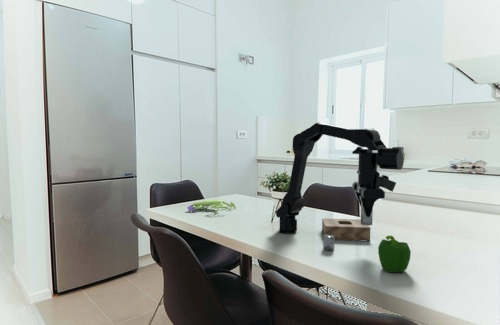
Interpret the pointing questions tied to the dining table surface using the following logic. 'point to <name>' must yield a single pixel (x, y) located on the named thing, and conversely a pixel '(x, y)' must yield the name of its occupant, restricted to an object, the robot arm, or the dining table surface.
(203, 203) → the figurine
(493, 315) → the dining table surface
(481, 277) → the dining table surface
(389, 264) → the bell pepper
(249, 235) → the dining table surface
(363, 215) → the tall steel pin
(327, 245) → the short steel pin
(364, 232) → the walnut hole block
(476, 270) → the dining table surface
